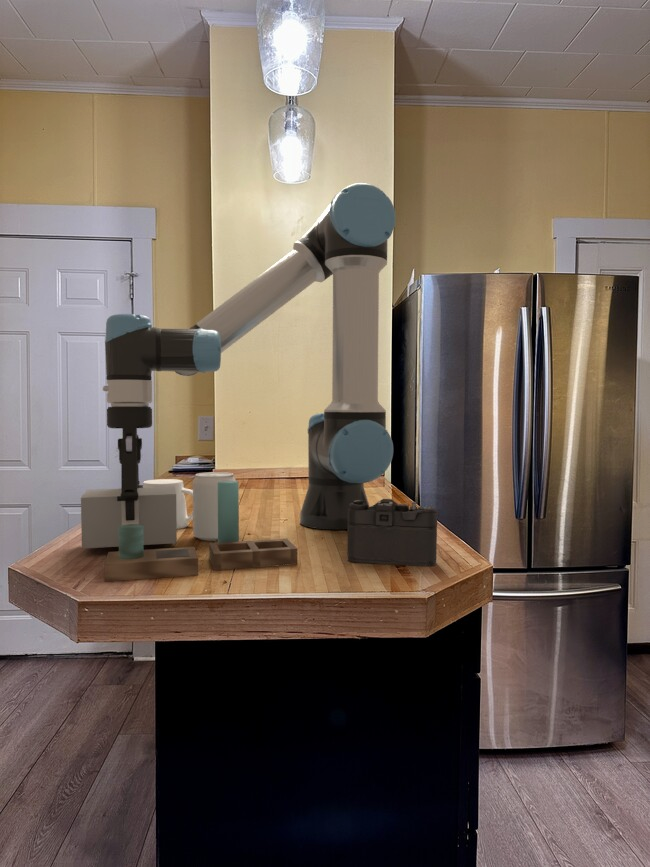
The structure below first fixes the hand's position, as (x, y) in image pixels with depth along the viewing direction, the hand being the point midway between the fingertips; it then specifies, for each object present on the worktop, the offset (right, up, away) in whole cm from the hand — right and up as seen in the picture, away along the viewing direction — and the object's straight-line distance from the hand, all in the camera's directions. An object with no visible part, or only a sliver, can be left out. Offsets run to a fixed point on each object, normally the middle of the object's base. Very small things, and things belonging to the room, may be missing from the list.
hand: (131, 532), depth 109 cm
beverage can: (+13, -2, +9) cm, 16 cm away
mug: (+2, -2, +19) cm, 20 cm away
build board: (+22, -3, -9) cm, 24 cm away
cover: (0, -1, 0) cm, 1 cm away
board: (+8, -3, -15) cm, 18 cm away
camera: (+45, -3, -7) cm, 46 cm away
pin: (+17, -3, -3) cm, 18 cm away
